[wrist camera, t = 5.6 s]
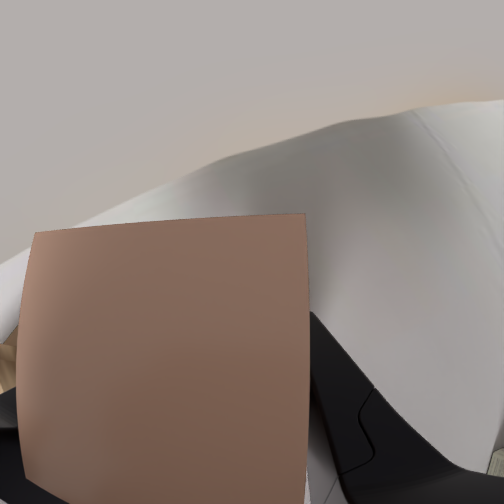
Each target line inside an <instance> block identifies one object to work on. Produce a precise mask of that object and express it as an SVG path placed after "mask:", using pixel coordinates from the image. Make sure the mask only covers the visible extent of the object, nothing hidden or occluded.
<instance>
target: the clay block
mask: <svg viewBox="0 0 504 504" xmlns="http://www.w3.org/2000/svg"><path fill="white" fill-rule="evenodd" d="M309 393H310V314H309V278H308V254H307V234H306V218H305V214H276V215H251V216H230V217H211V218H194V219H179V220H164V221H150V222H138V223H125V224H114V225H103V226H92V227H82V228H72V229H62V230H54V231H45V232H36V233H35V235H34V239H33V243H32V247H31V251H30V256H29V260H28V265H27V270H26V275H25V281H24V287H23V293H22V300H21V308H20V316H19V325H18V337H17V354H16V402H17V418H18V429H19V439H20V446H21V453H22V460H23V466H24V471H25V476H26V478H27V479H28V480H30V481H31V482H33V483H34V484H36V485H38V486H39V487H41V488H42V489H44V490H46V491H48V492H49V493H51V494H53V495H55V496H56V497H58V498H60V499H62V500H64V501H66V502H68V503H70V504H304V495H305V482H306V467H307V449H308V427H309Z"/></svg>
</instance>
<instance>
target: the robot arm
mask: <svg viewBox="0 0 504 504" xmlns="http://www.w3.org/2000/svg"><path fill="white" fill-rule="evenodd" d="M309 314H310V393H309V427H308V449H307V472H308V481H309V490H310V500H311V504H504V477H500V476H494V475H489V474H484V473H479V472H474V471H470V470H466V469H464V468H461V467H459V466H457V465H455V464H454V463H452V462H451V461H449V460H448V459H447V458H445V457H444V456H443V455H442V454H441V453H440V452H439V451H437V450H436V449H435V448H434V447H433V446H432V445H431V444H430V443H429V442H428V441H426V440H425V439H424V438H423V437H422V436H421V435H420V434H419V433H418V432H417V431H416V430H415V429H413V428H412V427H411V426H410V425H409V424H408V423H407V422H406V421H405V420H404V419H403V418H402V417H401V416H400V415H399V414H398V413H397V412H396V411H395V410H394V409H393V407H392V406H391V405H390V404H389V403H388V402H387V401H386V399H385V398H384V397H383V396H382V395H381V394H380V392H379V391H378V390H377V389H376V388H374V385H373V384H372V383H371V381H370V380H369V379H368V378H367V377H366V375H365V374H364V373H363V372H362V371H361V369H360V368H359V367H358V366H357V364H356V363H355V362H354V361H353V360H352V358H351V357H350V356H349V355H348V354H347V352H346V351H345V350H344V349H343V348H342V346H341V345H340V344H339V343H338V342H337V340H336V339H335V338H334V337H333V336H332V334H331V333H330V332H329V331H328V330H327V328H326V327H325V326H324V325H323V324H322V322H321V321H320V320H319V319H318V318H317V316H316V315H315V314H314V313H313V312H309ZM0 504H70V503H68V502H66V501H64V500H62V499H60V498H58V497H56V496H55V495H53V494H51V493H49V492H48V491H46V490H44V489H42V488H41V487H39V486H38V485H36V484H34V483H33V482H31V481H30V480H28V479H27V478H26V476H25V471H24V466H23V460H22V453H21V446H20V439H19V429H18V418H17V402H16V386H15V387H13V388H11V389H9V390H7V391H5V392H3V393H1V394H0Z"/></svg>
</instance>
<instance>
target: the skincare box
mask: <svg viewBox="0 0 504 504" xmlns="http://www.w3.org/2000/svg"><path fill="white" fill-rule="evenodd" d="M488 474H489V475H494V476H500V477H504V448H502V449H499V450H497V451H495V452H494V453H493V456H492V460H491V463H490V467H489V470H488Z"/></svg>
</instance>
